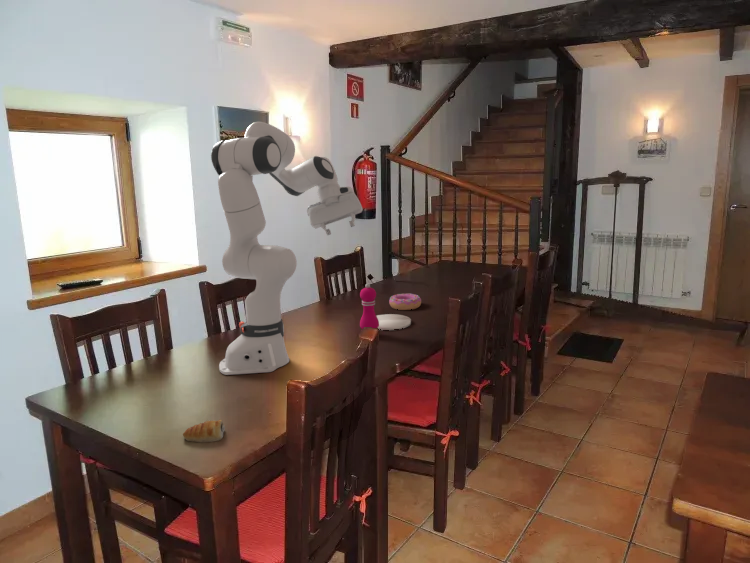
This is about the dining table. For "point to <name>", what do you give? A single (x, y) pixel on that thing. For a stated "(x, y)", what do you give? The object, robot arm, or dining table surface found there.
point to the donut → (405, 301)
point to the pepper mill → (368, 308)
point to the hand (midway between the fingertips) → (340, 230)
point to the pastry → (205, 431)
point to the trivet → (393, 321)
